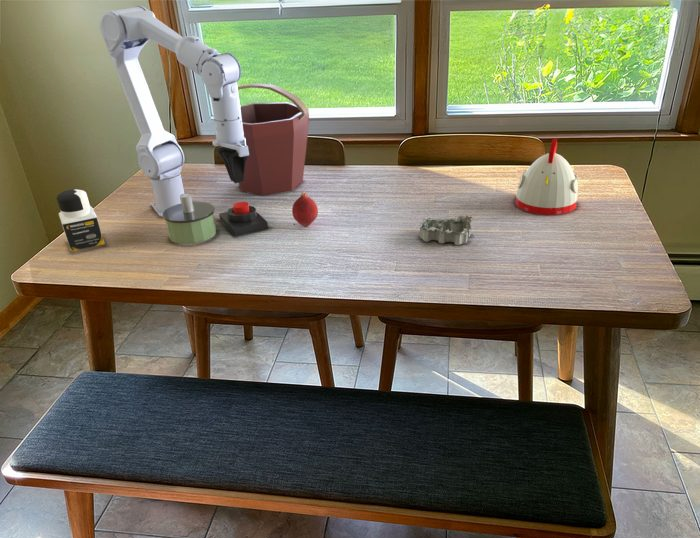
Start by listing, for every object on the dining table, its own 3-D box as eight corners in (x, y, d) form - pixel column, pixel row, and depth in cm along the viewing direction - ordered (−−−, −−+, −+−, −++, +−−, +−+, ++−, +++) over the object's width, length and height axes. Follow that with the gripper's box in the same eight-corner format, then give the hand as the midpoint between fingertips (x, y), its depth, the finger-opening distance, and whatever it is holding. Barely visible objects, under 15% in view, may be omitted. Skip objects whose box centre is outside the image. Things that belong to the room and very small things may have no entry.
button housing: (219, 220, 146) (217, 206, 144) (251, 213, 149) (249, 199, 147) (234, 236, 138) (232, 222, 136) (268, 228, 141) (266, 214, 139)
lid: (158, 213, 138) (153, 192, 136) (206, 202, 142) (203, 183, 140) (170, 229, 130) (165, 208, 127) (221, 218, 134) (217, 197, 131)
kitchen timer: (510, 211, 143) (518, 146, 135) (520, 191, 154) (527, 129, 145) (573, 217, 139) (584, 150, 130) (578, 196, 149) (589, 133, 141)
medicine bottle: (71, 253, 134) (54, 200, 127) (67, 242, 139) (51, 190, 132) (105, 246, 136) (90, 193, 129) (100, 235, 142) (85, 184, 135)
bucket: (209, 189, 164) (192, 90, 150) (261, 165, 179) (249, 73, 165) (283, 204, 153) (271, 98, 139) (331, 177, 168) (325, 79, 154)
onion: (315, 232, 138) (312, 197, 133) (290, 231, 139) (287, 196, 135) (321, 221, 143) (319, 188, 138) (297, 220, 144) (294, 187, 139)
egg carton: (473, 233, 134) (474, 216, 132) (464, 247, 128) (465, 229, 126) (426, 227, 138) (427, 210, 135) (415, 240, 132) (416, 222, 130)
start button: (231, 211, 142) (230, 203, 141) (246, 207, 143) (245, 200, 142) (236, 216, 139) (235, 208, 138) (251, 212, 141) (250, 205, 140)
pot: (165, 233, 141) (159, 210, 138) (208, 223, 145) (204, 201, 141) (176, 249, 133) (171, 226, 130) (222, 239, 137) (218, 215, 134)
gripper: (198, 114, 133) (209, 175, 141) (221, 128, 123) (231, 194, 130) (229, 109, 136) (238, 169, 144) (254, 122, 126) (262, 187, 133)
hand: (237, 181), depth 137 cm, fingers closed
